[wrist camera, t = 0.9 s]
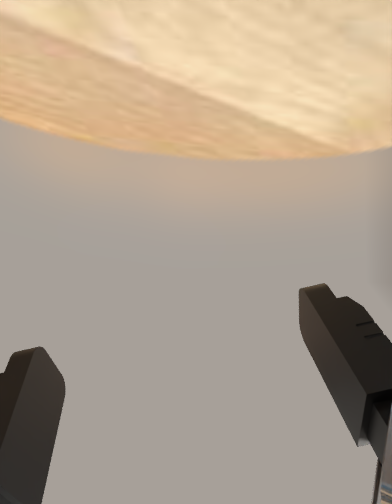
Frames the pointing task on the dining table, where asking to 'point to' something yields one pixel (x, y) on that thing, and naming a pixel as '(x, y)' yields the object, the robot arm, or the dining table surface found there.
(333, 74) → the dining table surface
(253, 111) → the dining table surface
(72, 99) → the dining table surface
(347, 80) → the dining table surface
